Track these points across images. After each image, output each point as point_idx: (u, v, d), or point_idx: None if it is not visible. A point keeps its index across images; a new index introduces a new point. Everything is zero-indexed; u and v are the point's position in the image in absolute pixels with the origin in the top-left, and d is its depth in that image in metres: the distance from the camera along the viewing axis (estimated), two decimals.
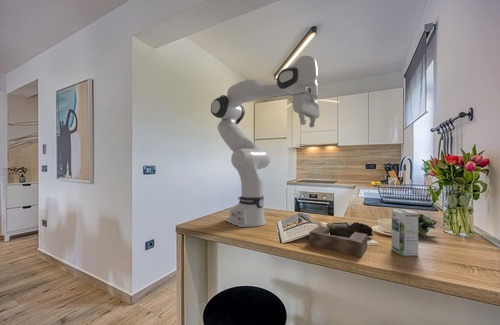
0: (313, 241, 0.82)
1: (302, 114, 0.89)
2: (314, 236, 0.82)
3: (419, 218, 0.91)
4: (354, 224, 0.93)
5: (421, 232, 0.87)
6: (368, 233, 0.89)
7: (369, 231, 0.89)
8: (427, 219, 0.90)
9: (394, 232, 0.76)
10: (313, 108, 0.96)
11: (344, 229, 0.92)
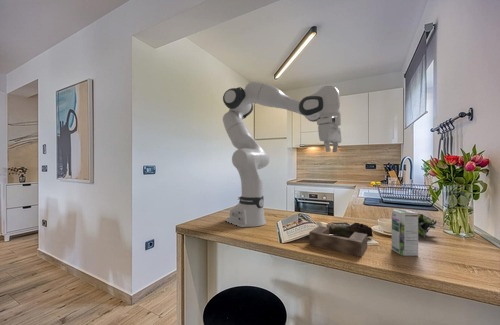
0: (313, 241, 0.82)
1: (327, 142, 0.94)
2: (314, 236, 0.82)
3: (419, 218, 0.91)
4: (354, 224, 0.92)
5: (421, 232, 0.87)
6: (368, 234, 0.88)
7: (369, 232, 0.88)
8: (427, 219, 0.90)
9: (394, 232, 0.76)
10: (336, 135, 1.00)
11: (344, 230, 0.91)
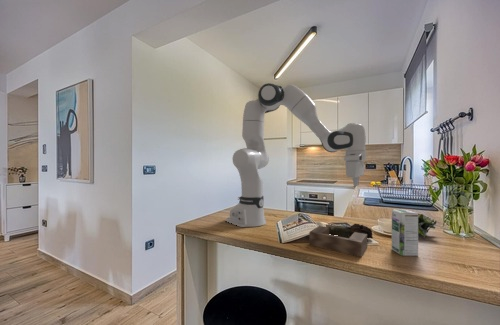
0: (313, 241, 0.82)
1: (356, 178, 1.02)
2: (314, 236, 0.82)
3: (419, 218, 0.91)
4: (354, 225, 0.91)
5: (421, 232, 0.87)
6: (368, 235, 0.86)
7: (369, 233, 0.86)
8: (427, 219, 0.90)
9: (394, 232, 0.76)
10: (361, 169, 1.05)
11: (343, 231, 0.90)
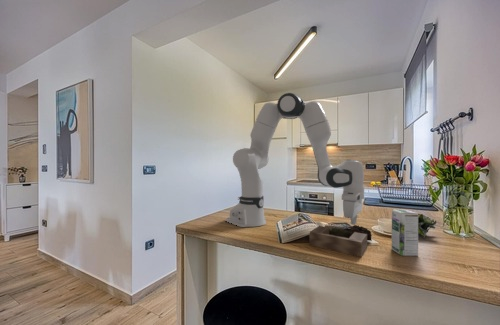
0: (313, 241, 0.82)
1: (353, 217, 0.99)
2: (314, 236, 0.82)
3: (419, 218, 0.91)
4: (353, 227, 0.89)
5: (421, 232, 0.87)
6: None
7: (367, 235, 0.84)
8: (427, 219, 0.90)
9: (394, 232, 0.76)
10: (358, 206, 1.02)
11: (341, 232, 0.89)
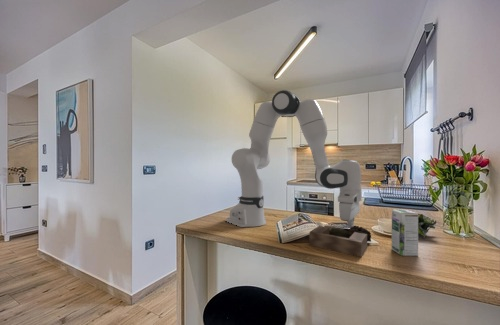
0: (313, 241, 0.82)
1: (350, 219, 0.94)
2: (314, 236, 0.82)
3: (419, 218, 0.91)
4: (353, 227, 0.88)
5: (421, 232, 0.87)
6: None
7: (367, 236, 0.83)
8: (427, 219, 0.90)
9: (394, 232, 0.76)
10: (356, 209, 0.97)
11: (340, 232, 0.88)
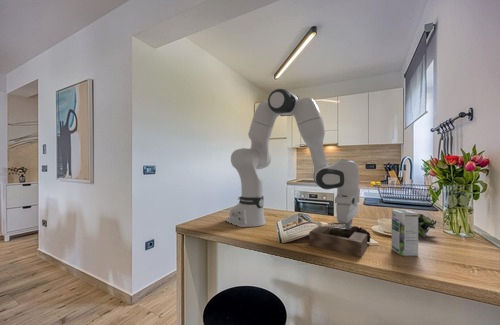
0: (313, 241, 0.82)
1: (348, 221, 0.91)
2: (314, 236, 0.82)
3: (419, 218, 0.91)
4: (352, 228, 0.88)
5: (421, 232, 0.87)
6: None
7: None
8: (427, 219, 0.90)
9: (394, 232, 0.76)
10: (354, 210, 0.94)
11: (339, 232, 0.88)
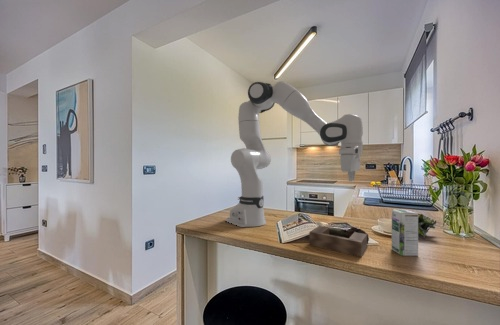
0: (313, 241, 0.82)
1: (351, 172, 0.96)
2: (314, 236, 0.82)
3: (419, 218, 0.91)
4: (350, 229, 0.86)
5: (421, 232, 0.87)
6: None
7: None
8: (427, 219, 0.90)
9: (394, 232, 0.76)
10: (357, 163, 0.99)
11: (337, 233, 0.87)
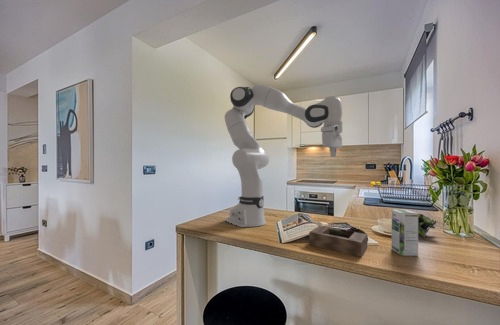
0: (313, 241, 0.82)
1: (332, 149, 1.07)
2: (314, 236, 0.82)
3: (419, 218, 0.91)
4: (350, 229, 0.87)
5: (421, 232, 0.87)
6: None
7: None
8: (427, 219, 0.90)
9: (394, 232, 0.76)
10: (338, 141, 1.10)
11: (337, 233, 0.87)
